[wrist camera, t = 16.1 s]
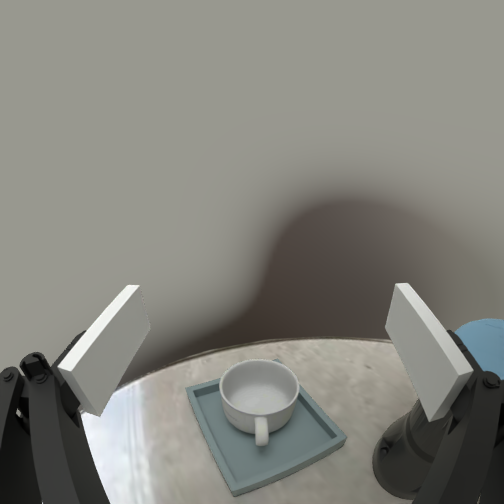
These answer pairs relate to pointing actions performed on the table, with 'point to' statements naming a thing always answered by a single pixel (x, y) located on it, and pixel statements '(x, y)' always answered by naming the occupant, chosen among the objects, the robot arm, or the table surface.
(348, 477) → the table surface
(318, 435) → the tray
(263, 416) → the teacup
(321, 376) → the table surface
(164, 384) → the table surface
